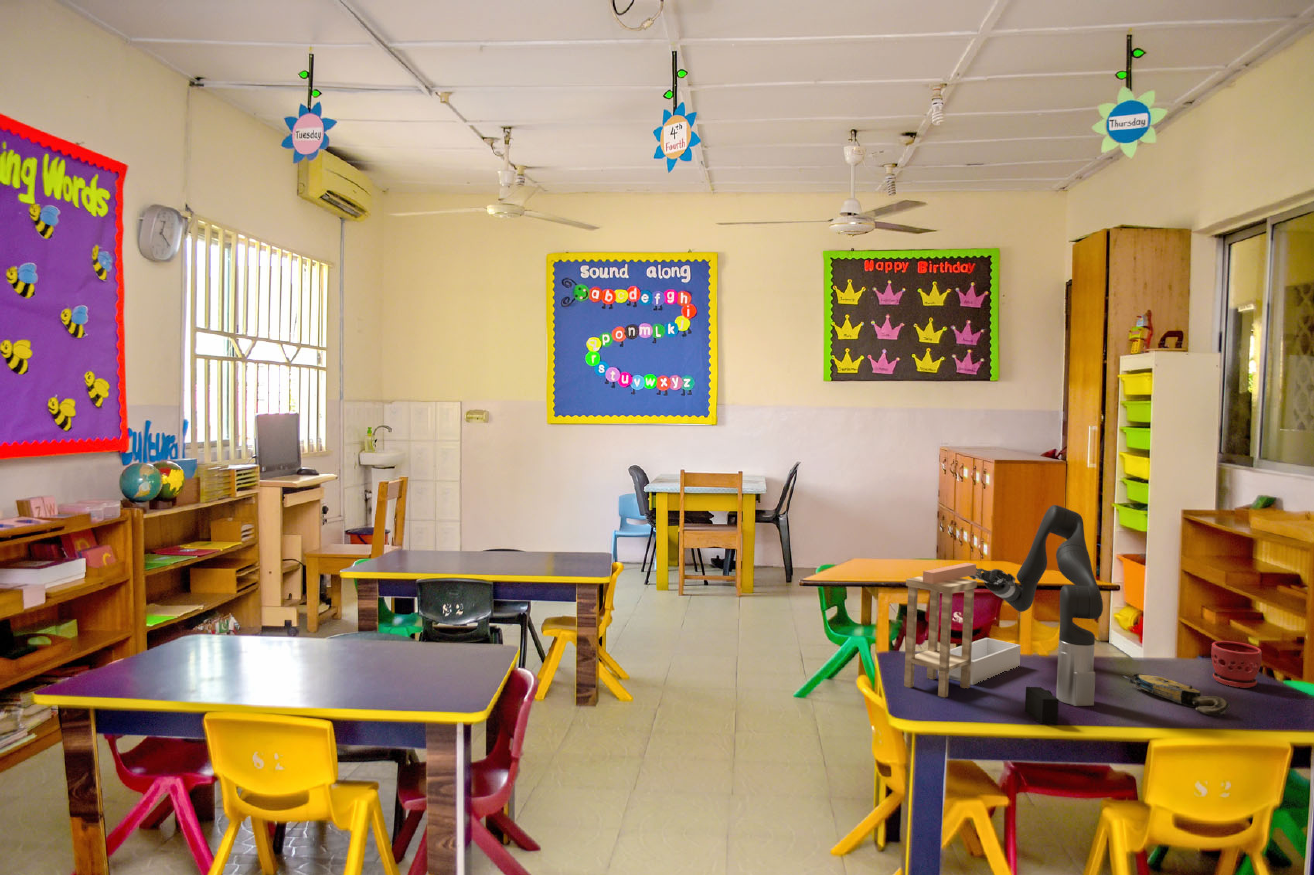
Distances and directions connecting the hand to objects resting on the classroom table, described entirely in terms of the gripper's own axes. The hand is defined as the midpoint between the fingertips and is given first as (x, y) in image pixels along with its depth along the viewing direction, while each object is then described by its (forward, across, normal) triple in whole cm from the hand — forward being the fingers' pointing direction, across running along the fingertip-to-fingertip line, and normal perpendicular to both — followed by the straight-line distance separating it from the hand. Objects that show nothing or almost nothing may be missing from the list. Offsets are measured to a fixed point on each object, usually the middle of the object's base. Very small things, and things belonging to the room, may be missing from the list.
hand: (982, 570), depth 278 cm
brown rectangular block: (+19, -2, +8) cm, 20 cm away
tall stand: (+11, -1, +40) cm, 41 cm away
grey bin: (-14, 0, +30) cm, 32 cm away
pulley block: (-28, +53, +23) cm, 64 cm away
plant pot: (-59, +61, +10) cm, 85 cm away
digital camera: (+14, +31, +41) cm, 53 cm away
